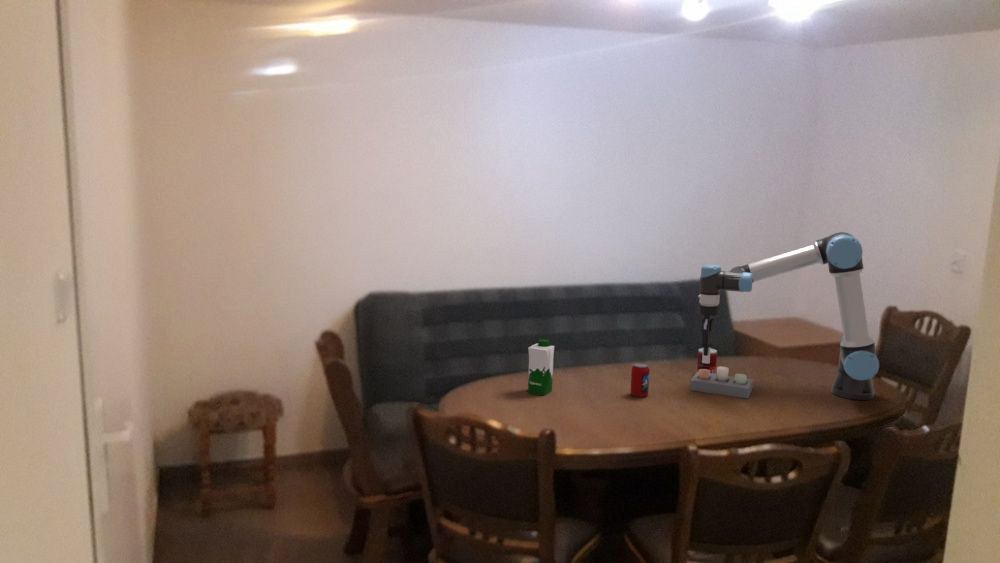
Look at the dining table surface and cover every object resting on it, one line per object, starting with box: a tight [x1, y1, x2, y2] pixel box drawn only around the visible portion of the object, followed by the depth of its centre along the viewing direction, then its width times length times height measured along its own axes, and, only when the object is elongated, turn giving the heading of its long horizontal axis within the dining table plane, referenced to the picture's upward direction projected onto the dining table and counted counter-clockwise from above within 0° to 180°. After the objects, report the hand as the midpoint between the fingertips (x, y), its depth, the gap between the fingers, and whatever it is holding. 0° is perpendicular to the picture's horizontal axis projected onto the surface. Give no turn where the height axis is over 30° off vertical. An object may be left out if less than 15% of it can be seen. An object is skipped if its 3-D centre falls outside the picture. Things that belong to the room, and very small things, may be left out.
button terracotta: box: [698, 369, 710, 380], centre depth 308 cm, size 4×4×5 cm
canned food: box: [696, 347, 718, 374], centre depth 324 cm, size 8×8×11 cm
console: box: [689, 371, 754, 400], centre depth 306 cm, size 22×14×4 cm, turn 65°
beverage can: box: [630, 362, 651, 398], centre depth 296 cm, size 7×7×12 cm
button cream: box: [716, 365, 730, 382], centre depth 305 cm, size 4×4×5 cm
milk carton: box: [527, 338, 555, 396], centre depth 296 cm, size 9×9×20 cm
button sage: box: [734, 373, 747, 385], centre depth 303 cm, size 4×4×5 cm
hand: (705, 362), depth 307 cm, fingers closed
